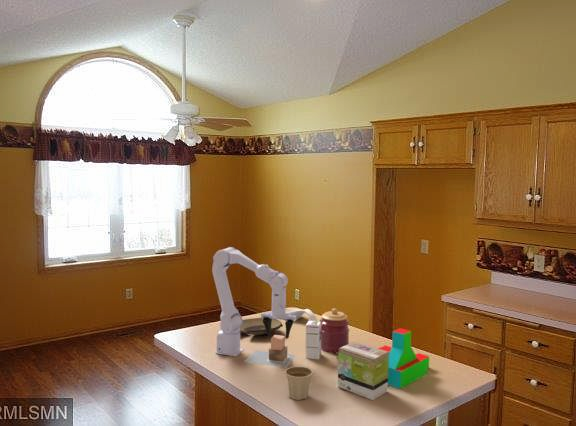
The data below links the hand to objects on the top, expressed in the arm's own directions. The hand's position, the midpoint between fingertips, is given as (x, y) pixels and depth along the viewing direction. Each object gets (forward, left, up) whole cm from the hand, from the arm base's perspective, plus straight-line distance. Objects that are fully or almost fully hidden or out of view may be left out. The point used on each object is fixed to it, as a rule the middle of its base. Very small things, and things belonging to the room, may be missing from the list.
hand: (278, 336), depth 202 cm
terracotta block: (0, -1, -5) cm, 5 cm away
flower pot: (+17, -30, -10) cm, 36 cm away
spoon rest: (-6, +54, -10) cm, 56 cm away
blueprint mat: (-3, -1, -9) cm, 10 cm away
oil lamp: (-22, +30, -10) cm, 38 cm away
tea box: (+37, -18, -10) cm, 42 cm away
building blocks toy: (+47, +3, -10) cm, 48 cm away
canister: (+19, +20, -10) cm, 29 cm away
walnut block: (0, 0, -9) cm, 9 cm away
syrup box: (+13, +7, -10) cm, 18 cm away
